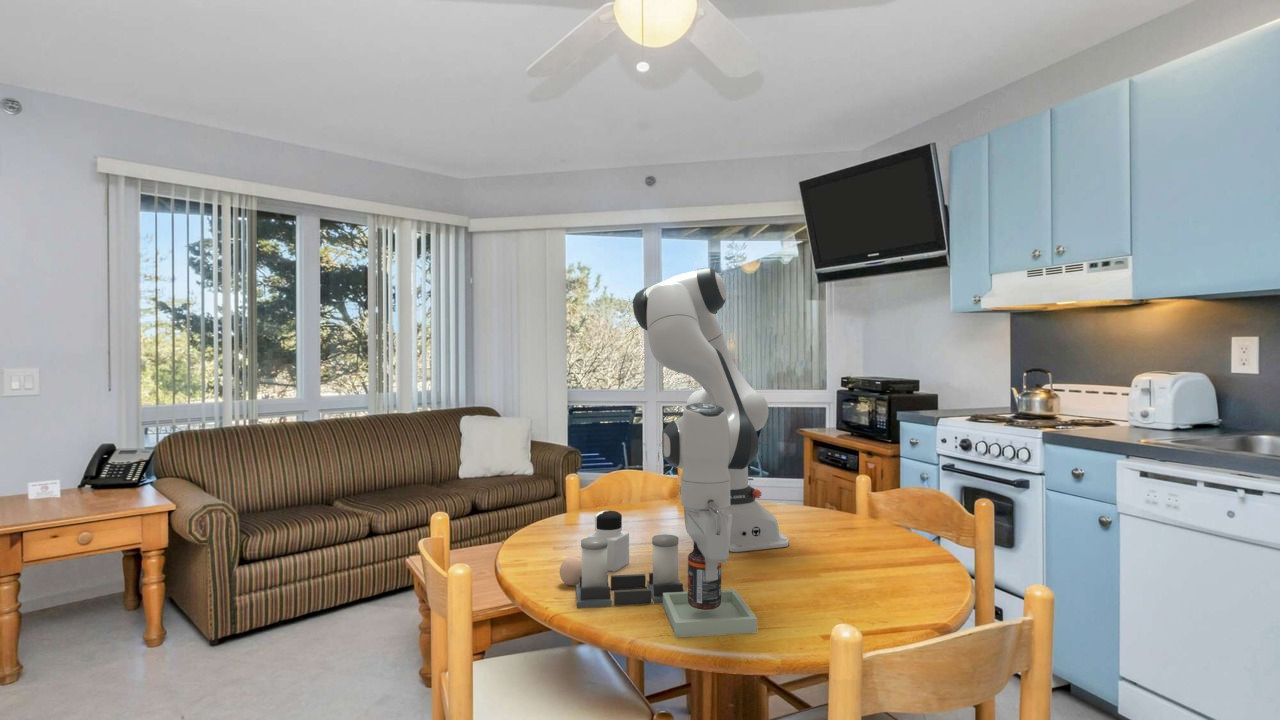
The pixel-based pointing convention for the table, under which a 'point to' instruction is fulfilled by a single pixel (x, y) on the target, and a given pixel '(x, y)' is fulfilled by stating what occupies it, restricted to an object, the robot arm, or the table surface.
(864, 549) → the table surface
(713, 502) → the robot arm
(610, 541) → the medicine bottle
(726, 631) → the tray
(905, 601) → the table surface
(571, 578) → the egg
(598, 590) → the fuse holder
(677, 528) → the table surface
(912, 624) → the table surface
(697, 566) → the supplement bottle
